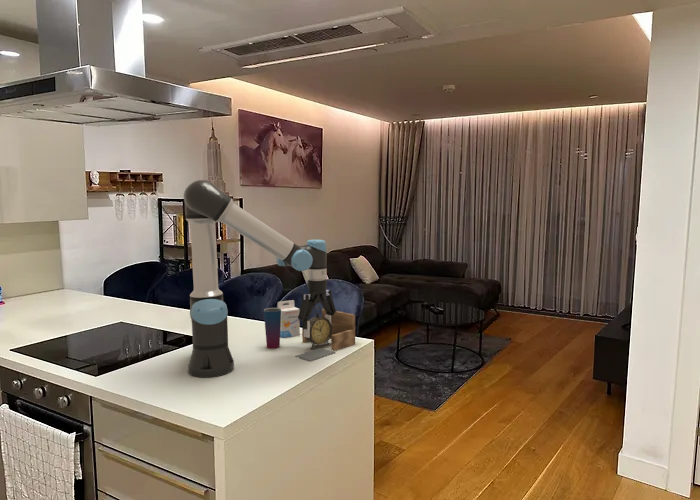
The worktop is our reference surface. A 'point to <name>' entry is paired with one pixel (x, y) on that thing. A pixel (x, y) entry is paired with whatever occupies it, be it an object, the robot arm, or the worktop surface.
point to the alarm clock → (319, 330)
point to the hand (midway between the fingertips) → (317, 333)
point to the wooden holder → (340, 330)
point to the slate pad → (315, 354)
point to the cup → (272, 327)
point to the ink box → (289, 319)
